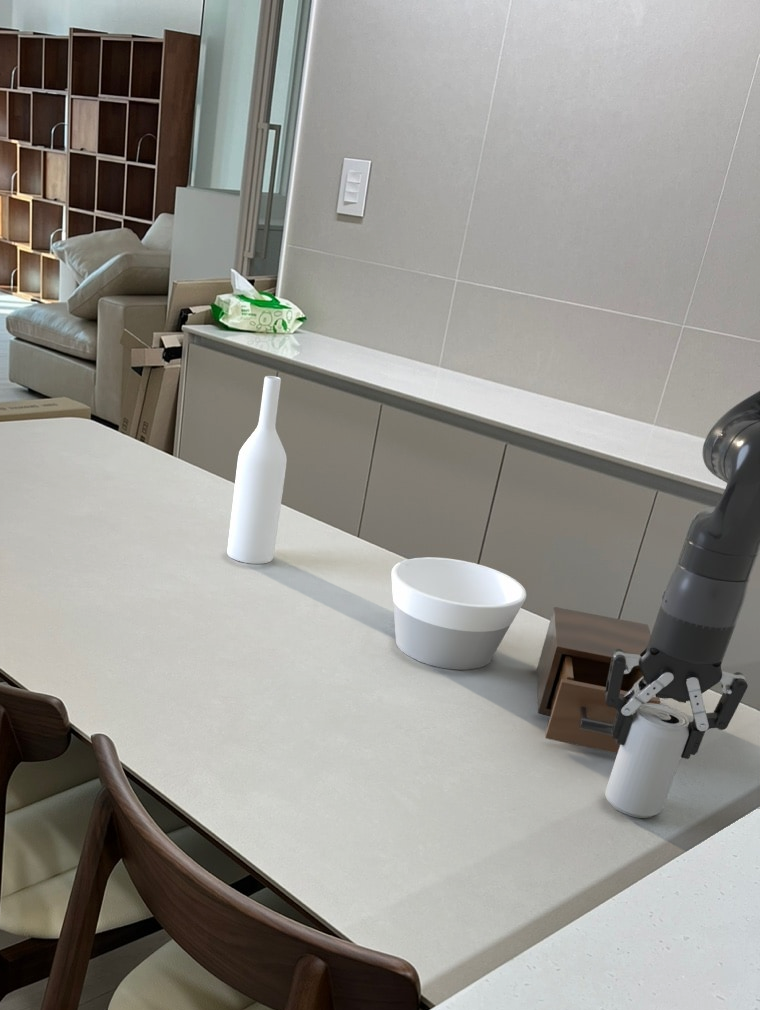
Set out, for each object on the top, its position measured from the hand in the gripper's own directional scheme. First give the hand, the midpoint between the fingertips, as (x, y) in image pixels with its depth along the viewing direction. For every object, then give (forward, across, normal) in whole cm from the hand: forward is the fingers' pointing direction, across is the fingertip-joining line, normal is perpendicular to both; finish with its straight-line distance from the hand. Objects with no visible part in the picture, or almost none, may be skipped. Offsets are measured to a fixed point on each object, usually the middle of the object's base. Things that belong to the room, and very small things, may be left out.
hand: (651, 748), depth 118 cm
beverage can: (+8, 0, 0) cm, 8 cm away
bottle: (+8, -59, +59) cm, 84 cm away
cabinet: (+8, -4, +27) cm, 28 cm away
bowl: (+8, -24, +35) cm, 43 cm away
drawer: (+7, -4, +15) cm, 17 cm away
